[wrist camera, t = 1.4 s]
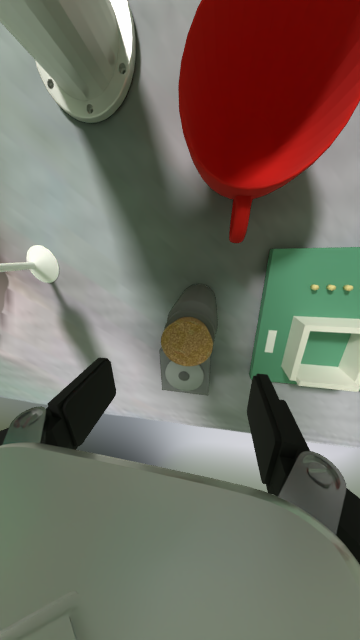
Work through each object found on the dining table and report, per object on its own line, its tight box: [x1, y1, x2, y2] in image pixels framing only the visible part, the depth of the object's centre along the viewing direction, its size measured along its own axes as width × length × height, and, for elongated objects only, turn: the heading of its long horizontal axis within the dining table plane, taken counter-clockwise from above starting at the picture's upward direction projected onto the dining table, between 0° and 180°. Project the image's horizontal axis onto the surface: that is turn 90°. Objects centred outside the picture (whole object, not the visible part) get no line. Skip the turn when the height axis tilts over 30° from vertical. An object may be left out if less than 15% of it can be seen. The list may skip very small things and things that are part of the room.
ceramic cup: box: [179, 0, 360, 243], centre depth 17 cm, size 13×17×10 cm
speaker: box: [160, 347, 211, 395], centre depth 32 cm, size 9×9×4 cm
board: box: [249, 247, 360, 392], centre depth 24 cm, size 22×18×6 cm
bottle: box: [161, 284, 218, 366], centre depth 22 cm, size 6×6×15 cm
